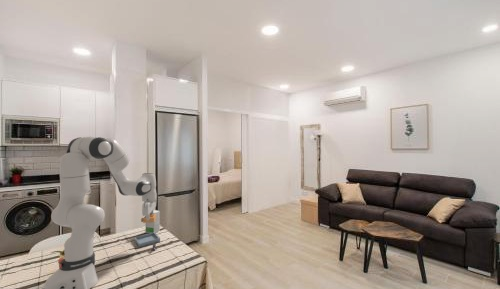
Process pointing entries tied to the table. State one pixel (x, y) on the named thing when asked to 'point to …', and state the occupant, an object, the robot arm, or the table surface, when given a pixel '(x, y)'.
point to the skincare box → (153, 224)
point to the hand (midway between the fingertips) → (149, 217)
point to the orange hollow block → (152, 219)
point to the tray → (147, 239)
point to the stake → (154, 247)
